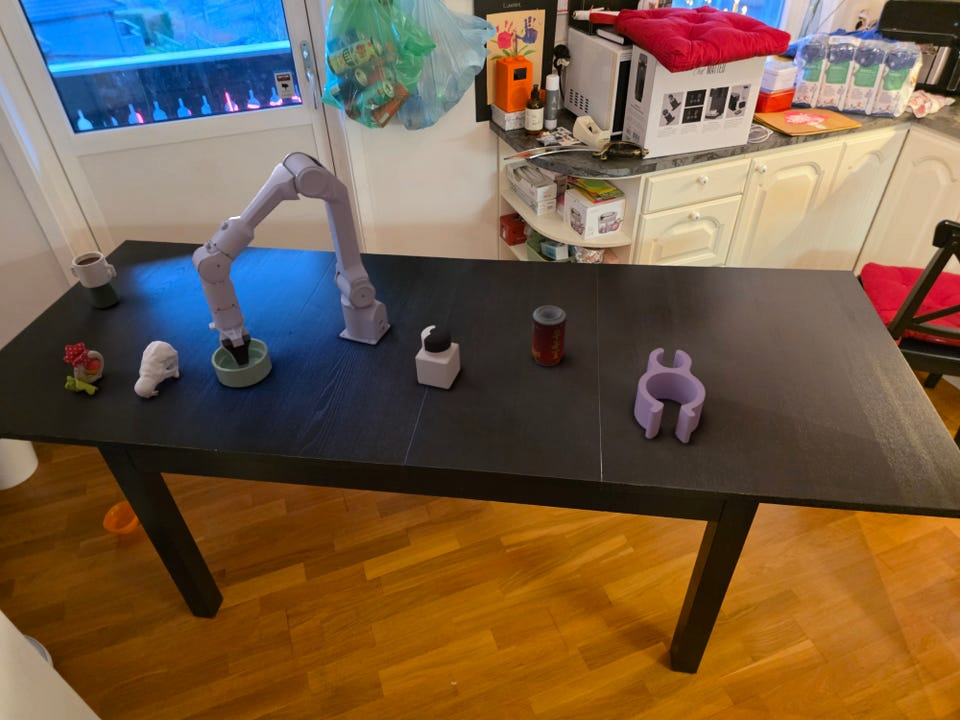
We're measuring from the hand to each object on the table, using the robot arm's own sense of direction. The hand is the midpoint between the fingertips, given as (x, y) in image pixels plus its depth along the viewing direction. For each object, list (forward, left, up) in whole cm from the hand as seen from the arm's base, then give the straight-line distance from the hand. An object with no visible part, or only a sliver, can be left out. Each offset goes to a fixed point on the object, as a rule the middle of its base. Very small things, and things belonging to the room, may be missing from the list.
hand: (240, 355), depth 142 cm
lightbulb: (0, 0, -4) cm, 4 cm away
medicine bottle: (-41, -13, -5) cm, 43 cm away
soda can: (-61, -27, -5) cm, 67 cm away
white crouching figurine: (+15, +10, -5) cm, 19 cm away
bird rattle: (+29, +15, -5) cm, 33 cm away
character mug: (+51, -11, -5) cm, 52 cm away
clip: (-88, -20, -5) cm, 90 cm away
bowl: (0, 0, -5) cm, 5 cm away
